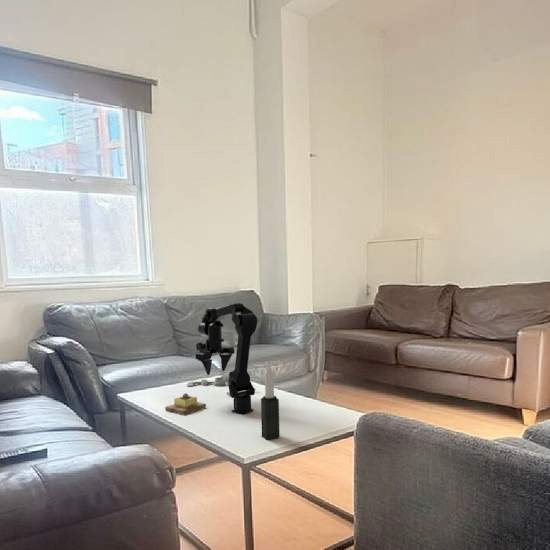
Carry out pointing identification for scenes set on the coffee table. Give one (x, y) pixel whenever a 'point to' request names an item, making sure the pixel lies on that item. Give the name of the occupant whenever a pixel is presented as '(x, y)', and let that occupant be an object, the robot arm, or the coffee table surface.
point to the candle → (270, 408)
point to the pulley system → (217, 382)
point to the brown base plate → (185, 410)
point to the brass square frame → (185, 402)
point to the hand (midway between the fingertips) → (215, 372)
